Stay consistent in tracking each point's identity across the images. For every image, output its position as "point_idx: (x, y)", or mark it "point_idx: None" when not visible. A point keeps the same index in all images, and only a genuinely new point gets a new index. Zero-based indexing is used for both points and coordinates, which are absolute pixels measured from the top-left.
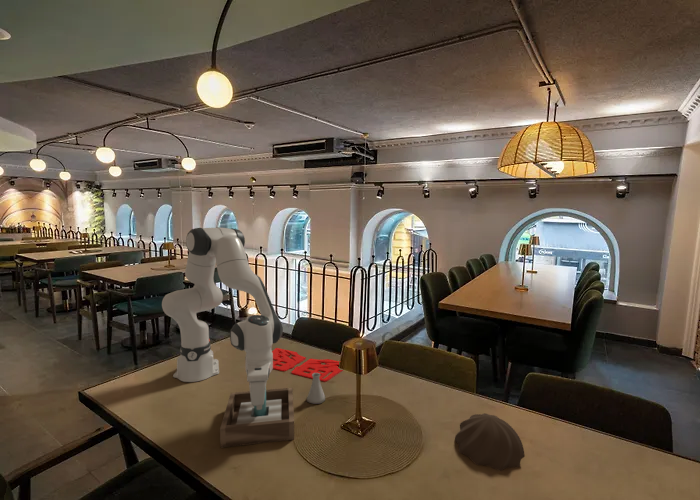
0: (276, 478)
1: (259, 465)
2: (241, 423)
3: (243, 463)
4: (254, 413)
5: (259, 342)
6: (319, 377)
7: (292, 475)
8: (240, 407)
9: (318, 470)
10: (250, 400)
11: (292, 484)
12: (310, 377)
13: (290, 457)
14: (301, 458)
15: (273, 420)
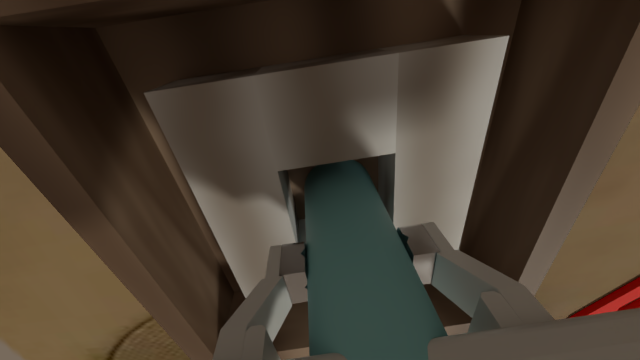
0: (12, 284)
1: (39, 229)
2: (189, 127)
3: (11, 170)
4: (322, 182)
5: None
6: (607, 310)
7: (53, 313)
8: (426, 52)
9: (106, 350)
10: (533, 100)
11: (17, 318)
12: (632, 286)
13: (130, 298)
14: (138, 319)
15: (252, 280)
